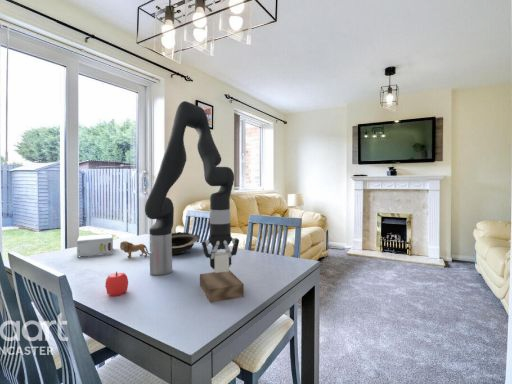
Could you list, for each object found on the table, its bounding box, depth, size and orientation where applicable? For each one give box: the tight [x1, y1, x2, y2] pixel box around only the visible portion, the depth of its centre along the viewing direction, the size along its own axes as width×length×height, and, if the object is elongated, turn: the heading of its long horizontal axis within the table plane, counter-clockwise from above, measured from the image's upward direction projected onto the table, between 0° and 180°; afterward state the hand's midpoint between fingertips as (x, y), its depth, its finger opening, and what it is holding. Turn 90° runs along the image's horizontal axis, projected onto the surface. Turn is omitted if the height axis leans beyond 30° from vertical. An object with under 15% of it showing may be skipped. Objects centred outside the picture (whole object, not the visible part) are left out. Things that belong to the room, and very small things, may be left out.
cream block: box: [213, 250, 230, 273], centre depth 102 cm, size 5×5×6 cm
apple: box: [104, 271, 129, 297], centre depth 100 cm, size 8×8×8 cm
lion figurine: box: [119, 240, 150, 259], centre depth 147 cm, size 15×5×9 cm, turn 116°
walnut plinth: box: [199, 269, 245, 304], centre depth 102 cm, size 12×16×5 cm
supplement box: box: [76, 233, 114, 258], centre depth 155 cm, size 17×13×9 cm
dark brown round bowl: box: [172, 231, 201, 256], centre depth 157 cm, size 25×25×9 cm
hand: (220, 267), depth 102 cm, fingers closed on cream block, 5 cm apart
